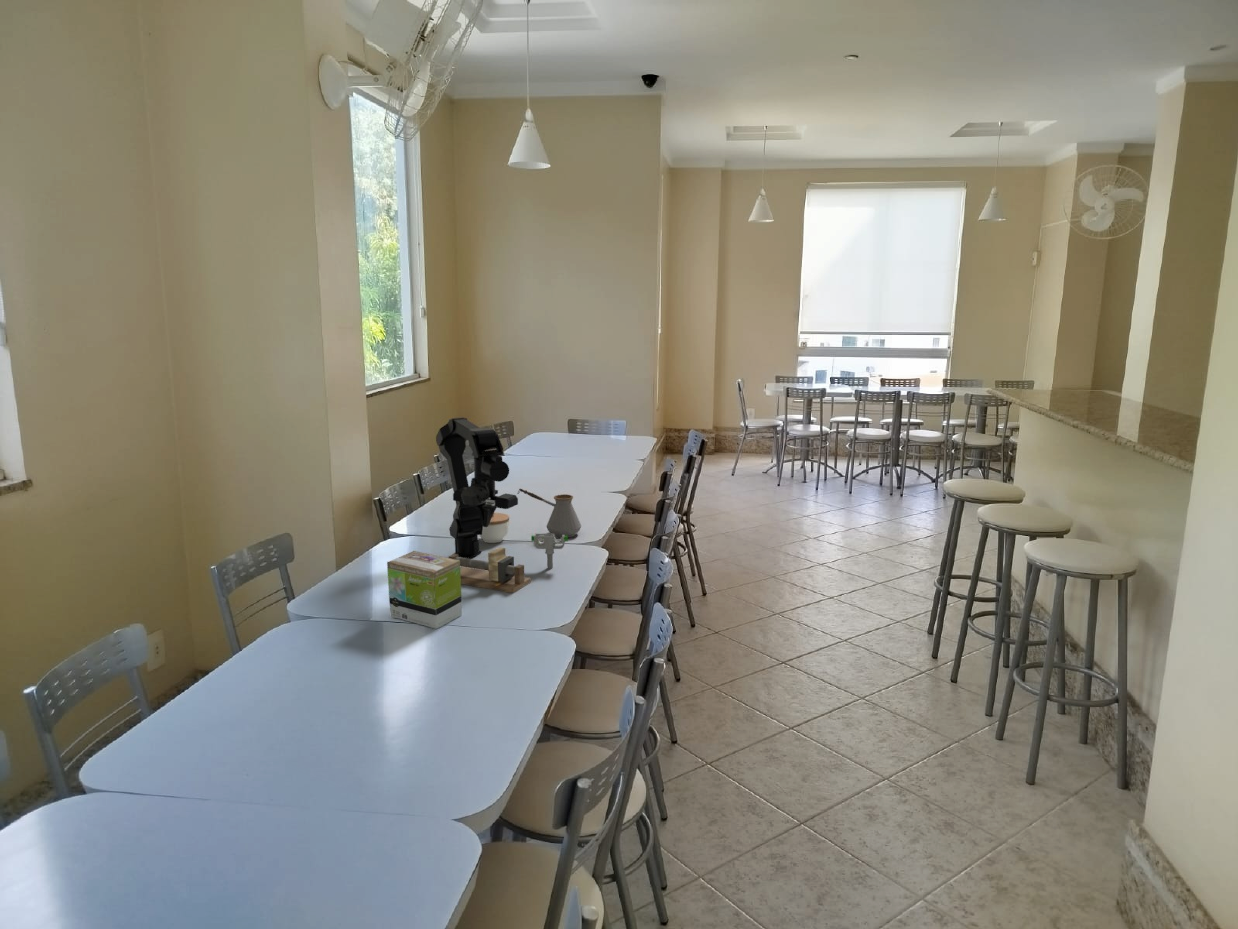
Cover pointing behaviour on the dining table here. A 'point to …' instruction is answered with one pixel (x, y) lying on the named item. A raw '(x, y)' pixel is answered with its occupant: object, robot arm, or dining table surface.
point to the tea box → (425, 589)
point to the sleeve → (495, 562)
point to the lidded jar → (496, 528)
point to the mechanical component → (548, 545)
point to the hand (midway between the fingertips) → (485, 526)
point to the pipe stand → (482, 577)
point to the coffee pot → (560, 515)
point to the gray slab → (501, 569)
